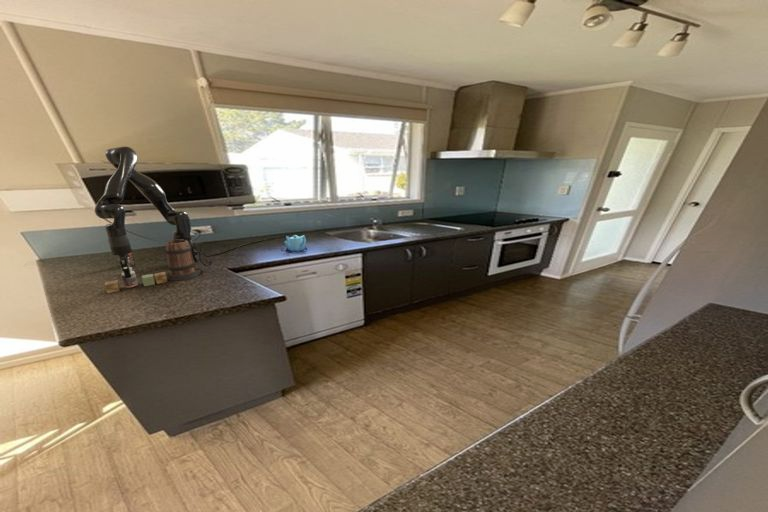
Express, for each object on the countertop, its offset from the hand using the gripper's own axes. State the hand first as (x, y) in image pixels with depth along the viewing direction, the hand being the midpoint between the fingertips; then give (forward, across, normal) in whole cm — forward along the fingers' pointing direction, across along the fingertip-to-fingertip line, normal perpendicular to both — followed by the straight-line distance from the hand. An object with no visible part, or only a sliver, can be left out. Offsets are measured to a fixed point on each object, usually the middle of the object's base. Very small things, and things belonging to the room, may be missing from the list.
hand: (128, 275), depth 146 cm
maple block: (+6, 0, -12) cm, 14 cm away
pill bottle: (+6, 0, 0) cm, 6 cm away
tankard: (+7, +5, -26) cm, 27 cm away
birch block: (+6, 0, +7) cm, 10 cm away
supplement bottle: (+7, +42, +3) cm, 43 cm away
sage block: (+6, 0, -7) cm, 10 cm away
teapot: (+7, +16, -95) cm, 97 cm away
